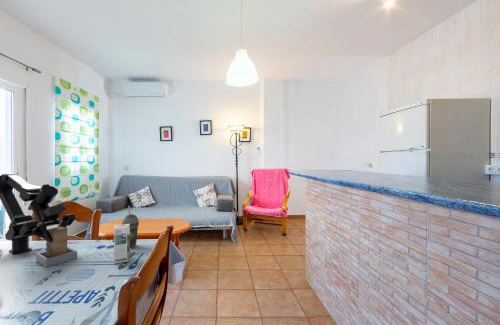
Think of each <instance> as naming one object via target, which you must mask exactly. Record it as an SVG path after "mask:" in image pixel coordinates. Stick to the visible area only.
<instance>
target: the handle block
mask: <svg viewBox="0 0 500 325" xmlns="http://www.w3.org/2000/svg"><path fill="white" fill-rule="evenodd" d="M47 230H48V232H49V234H50V235H51V237H52V240H53V241H52V242H49V241H47V240H45V241H46V243H45V244H46V250H45V251H46V256H47V257H55V256H59V255H62V254H66V253H67V247H68V227H66V228H64V227H58V226H57V227H53V228H47Z"/></svg>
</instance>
